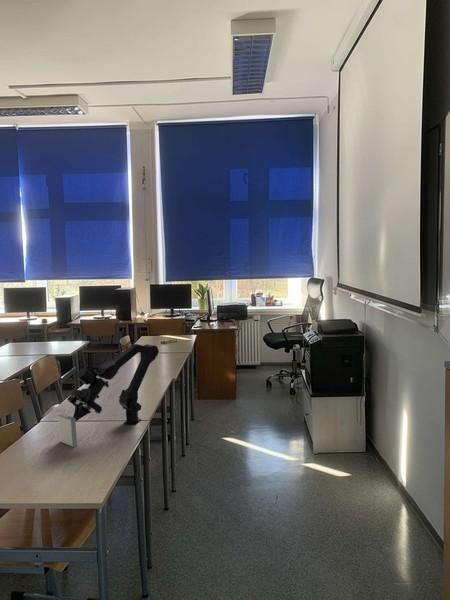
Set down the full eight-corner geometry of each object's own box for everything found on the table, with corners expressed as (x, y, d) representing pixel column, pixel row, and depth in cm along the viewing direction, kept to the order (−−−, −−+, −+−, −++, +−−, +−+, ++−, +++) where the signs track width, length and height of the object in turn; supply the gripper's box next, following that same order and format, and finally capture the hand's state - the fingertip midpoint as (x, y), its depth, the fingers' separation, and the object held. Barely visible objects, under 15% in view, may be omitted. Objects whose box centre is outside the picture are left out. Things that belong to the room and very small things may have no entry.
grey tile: (63, 440, 196) (62, 413, 195) (77, 445, 190) (75, 418, 189) (59, 442, 194) (57, 415, 193) (72, 447, 188) (71, 419, 187)
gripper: (69, 377, 202) (48, 408, 194) (94, 383, 191) (73, 416, 183) (85, 390, 209) (65, 420, 201) (110, 397, 197) (90, 429, 190)
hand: (73, 421), depth 194 cm, fingers closed
